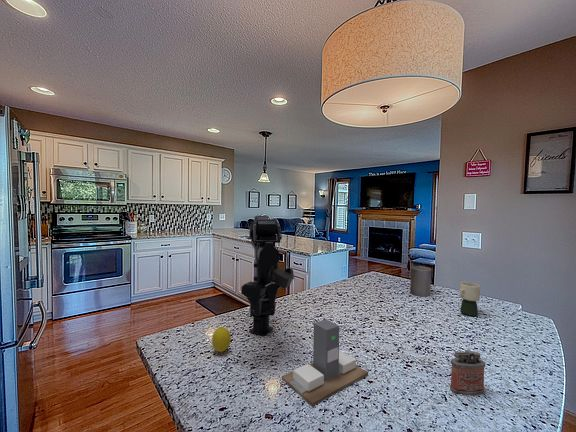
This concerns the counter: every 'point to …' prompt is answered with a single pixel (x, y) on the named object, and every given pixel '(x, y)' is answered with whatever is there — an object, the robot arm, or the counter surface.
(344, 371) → the terminal blocks
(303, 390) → the rail
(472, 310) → the character mug
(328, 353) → the block
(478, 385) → the lighter
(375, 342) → the counter surface
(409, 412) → the counter surface
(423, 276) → the pillar candle
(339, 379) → the board
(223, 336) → the lemon
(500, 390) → the counter surface
